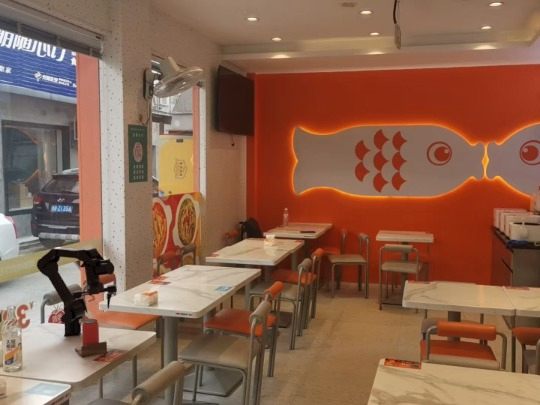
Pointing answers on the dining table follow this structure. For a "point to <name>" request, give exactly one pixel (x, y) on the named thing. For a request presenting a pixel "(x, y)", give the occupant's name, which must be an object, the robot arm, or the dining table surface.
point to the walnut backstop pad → (92, 349)
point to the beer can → (90, 332)
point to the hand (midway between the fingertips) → (97, 310)
